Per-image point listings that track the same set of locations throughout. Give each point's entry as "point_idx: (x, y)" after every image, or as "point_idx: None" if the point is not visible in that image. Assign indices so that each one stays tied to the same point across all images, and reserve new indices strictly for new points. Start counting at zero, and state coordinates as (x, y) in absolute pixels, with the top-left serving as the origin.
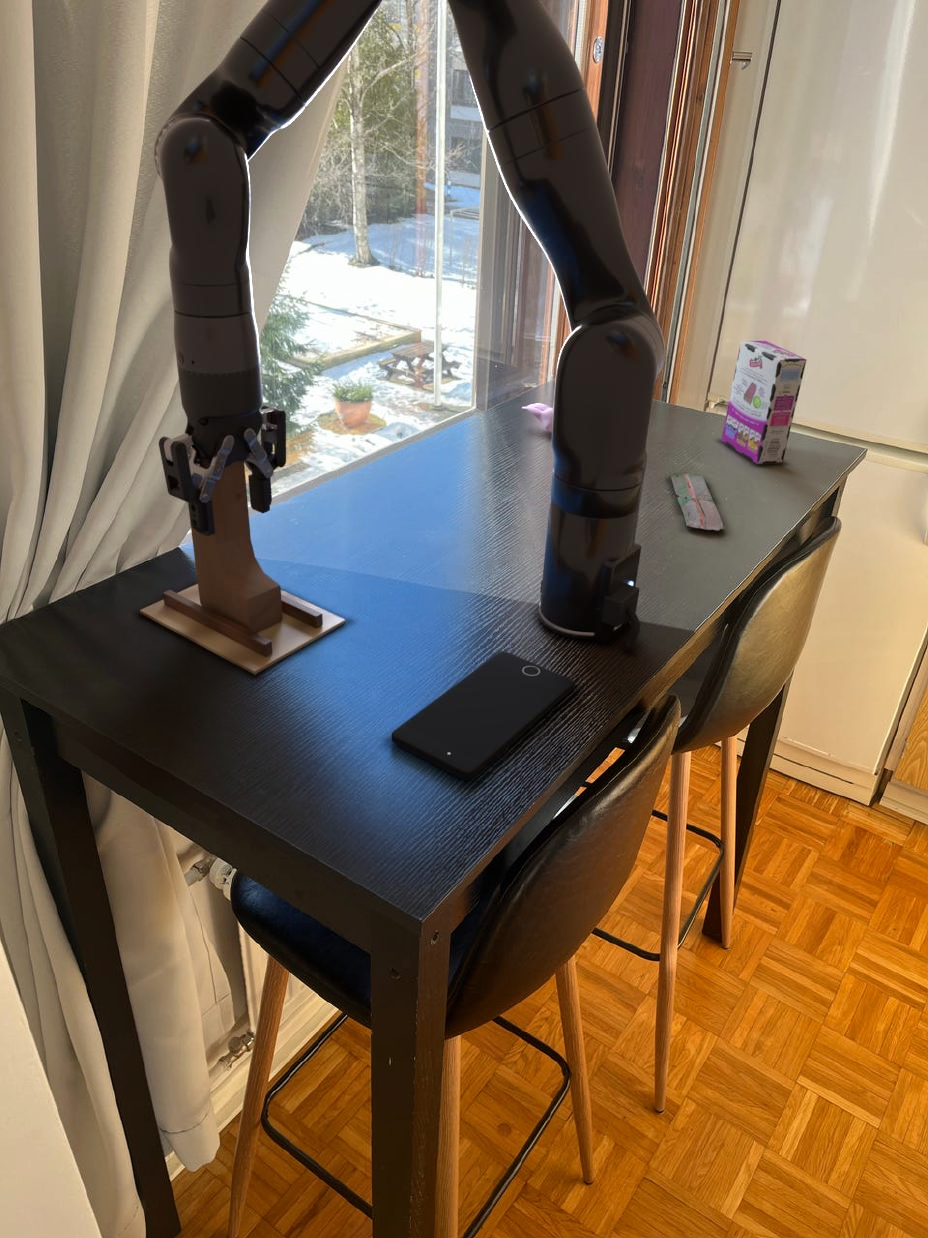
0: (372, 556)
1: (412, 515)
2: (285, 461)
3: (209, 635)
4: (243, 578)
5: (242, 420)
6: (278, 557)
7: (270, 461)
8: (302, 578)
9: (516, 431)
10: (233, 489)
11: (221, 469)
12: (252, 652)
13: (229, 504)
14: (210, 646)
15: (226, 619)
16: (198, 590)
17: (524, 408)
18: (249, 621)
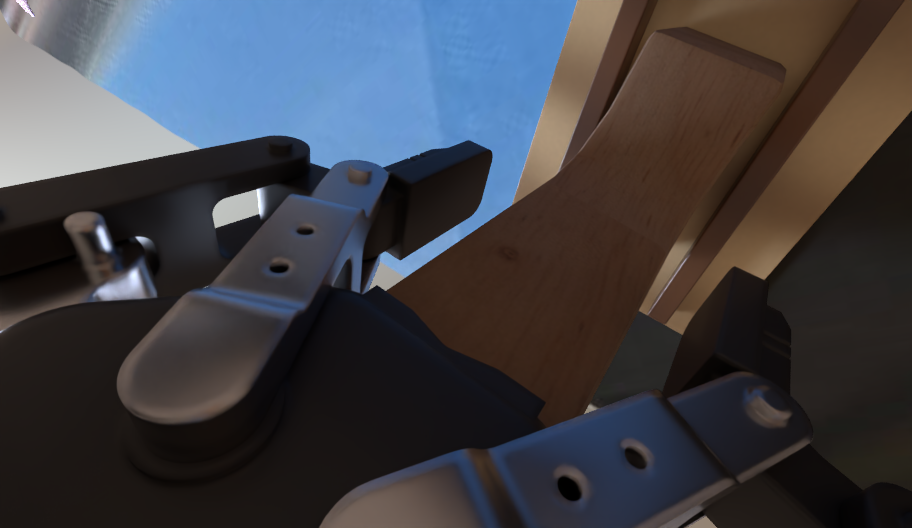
0: (365, 5)
1: (249, 20)
2: (271, 137)
3: (800, 175)
4: (674, 144)
5: (75, 503)
6: None
7: (307, 190)
8: (481, 96)
9: (71, 11)
10: (507, 282)
11: (612, 421)
12: (900, 10)
13: (558, 270)
14: (872, 148)
15: (766, 148)
16: None
17: (29, 8)
18: (785, 73)
